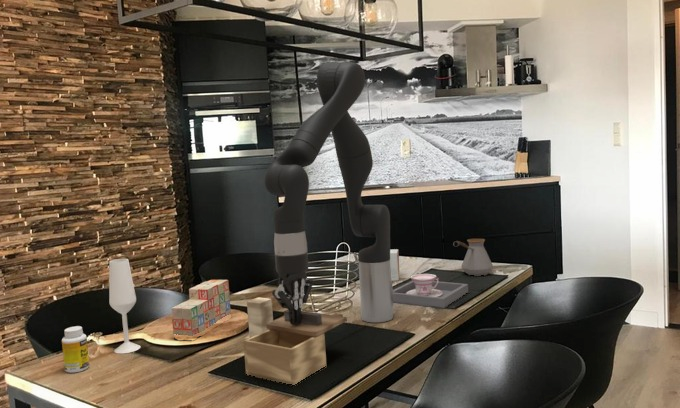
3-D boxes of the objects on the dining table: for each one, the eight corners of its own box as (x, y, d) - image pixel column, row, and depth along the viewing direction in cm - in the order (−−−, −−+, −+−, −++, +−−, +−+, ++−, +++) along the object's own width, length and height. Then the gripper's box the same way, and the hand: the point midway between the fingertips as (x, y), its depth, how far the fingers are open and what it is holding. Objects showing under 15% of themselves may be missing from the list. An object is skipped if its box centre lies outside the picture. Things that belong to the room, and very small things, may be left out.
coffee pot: (470, 269, 225) (469, 231, 224) (498, 272, 218) (497, 232, 216) (442, 281, 209) (441, 240, 207) (471, 284, 201) (470, 242, 200)
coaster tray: (415, 287, 202) (414, 279, 201) (468, 293, 191) (467, 284, 190) (387, 302, 186) (387, 292, 185) (444, 308, 175) (443, 298, 174)
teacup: (408, 300, 184) (407, 281, 183) (403, 291, 196) (403, 273, 195) (445, 298, 184) (445, 279, 183) (439, 289, 196) (438, 271, 195)
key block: (261, 341, 155) (258, 297, 154) (274, 343, 152) (271, 298, 151) (250, 346, 151) (246, 301, 150) (263, 349, 149) (259, 303, 147)
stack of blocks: (193, 341, 158) (189, 297, 157) (173, 340, 160) (169, 297, 159) (231, 318, 178) (228, 279, 177) (213, 317, 180) (210, 278, 179)
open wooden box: (279, 357, 142) (277, 325, 141) (326, 366, 134) (324, 333, 133) (246, 374, 132) (243, 340, 131) (294, 386, 124) (291, 349, 123)
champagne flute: (145, 347, 155) (137, 259, 153) (122, 355, 150) (113, 264, 148) (132, 342, 160) (124, 257, 157) (109, 350, 154) (100, 261, 152)
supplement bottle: (84, 372, 139) (80, 331, 138) (61, 374, 139) (56, 333, 138) (93, 364, 145) (89, 324, 144) (70, 365, 145) (66, 325, 144)
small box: (398, 281, 213) (397, 252, 212) (383, 281, 214) (382, 253, 213) (400, 276, 221) (398, 248, 220) (385, 276, 222) (384, 249, 221)
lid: (303, 312, 150) (302, 299, 150) (350, 319, 142) (349, 305, 142) (266, 328, 138) (265, 314, 138) (316, 336, 130) (315, 322, 130)
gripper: (285, 257, 127) (290, 334, 128) (320, 247, 137) (325, 318, 139) (259, 255, 131) (265, 330, 133) (296, 245, 142) (300, 314, 143)
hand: (295, 323), depth 136 cm, fingers closed
